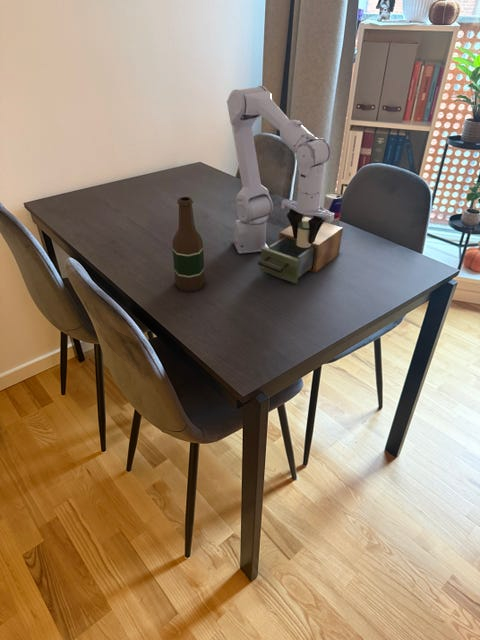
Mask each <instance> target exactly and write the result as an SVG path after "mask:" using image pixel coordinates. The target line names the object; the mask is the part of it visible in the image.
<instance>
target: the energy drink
mask: <svg viewBox="0 0 480 640" xmlns="http://www.w3.org/2000/svg"><path fill="white" fill-rule="evenodd" d="M323 203H324V204H323V208H324V209H326V210H328V211H330V212H332V213H335V214H334V220H333V221H332V222H330V223H329V222H327V220H325V221H324V222H325V223H329V224H332V225H336V226H339V225H340V219H341V212H342V204H343V195H342V194H341V193H339V192H328V193H326V194H325V197H324V202H323ZM339 227H340V226H339Z"/></svg>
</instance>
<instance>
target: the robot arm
mask: <svg viewBox="0 0 480 640" xmlns="http://www.w3.org/2000/svg"><path fill="white" fill-rule="evenodd" d="M226 104H227V110H228V116H229V122H230V125H231V130H232V136H233V141H234V142H233V143H234V147H235V153H236V159H237V165H238V170H239V175H240V182H241V187H242V188H241V190H239V192H238V193H237V195H236V196H235V199H236V208H235V211H236V215H237V217H238V219H236V220H234V222H233V244H234V247H235V249H236V251H237V253H238V254H249V253H251V254H252V253H261V248H263V247H266V248H269V246H268V244H267V243H266V239H267V238H266V237H267V220H268V219H269V217H270V215H271V214H272V213H273V210H274V203H273V200H272V198H271V196H270V192H269V191H270V190H269V189H268V188H266V187H265V186H264V185H262V183H261V176H260V170H259V164H258V163H259V162H258V156H257V151H256V144H255V138H254V133H253V126H254V124H255V122H256V121H257V120H258V119H259V118H260V117H262V118H264V120H266V121H267V122H268V123H269V124H270V125H272V126H273V127H274V128H275V129H276V130H278V131H279V138H280V140H281V141H282V142H283V143H284V144H285V145H286V146H287V147H288V148H289V149H290V150H291V151H292V152H293V153H294V154H295V160H296V163H297V171H298V184H297V186H298V187H297V193H296V198H297V199H296V200H292V199H287V198H286V199H284V200H281V206H280V207H281V209H283V210H286V209H287V210H289V211H288V213H286V217H287V219H288V221H289V223H290V226H291V227H292V231H293V236H294V238H295V239H296V238H297V230H298V227H297V224H298V223H299V222H301V221H302V218H304V215H306V216H309V217H311V218H312V219H310V220H309V221H308V223H309V243H310V244H312V243H313V242H314V241H315V238H316V236H317V233H318V231H319V229H320V227H321V226H322V224H323V223H324V221H325V220H327V222H329V223H330V222H332V221H333V220H334V214H335V213H332V212H330V211H328V210H326V209H324V207H323V206H320V201H321V194H322V193H321V192H322V184H323V176H324V168H325V167H324V166H325V163H327V162H328V161H329V160H330V157H331V147H330V145H329V143H328V141H327V140H326V139H325V138H322V137H320V138H318V137H317V136H315V135H314V134H312V133H311V132H310V131H309V130H308V129H307V128H306V127H304V126H303V123H302V121H300V120H297V119H289V118H288V117H287V115H286V114H285V113H284V112H283V110H282V109H281V108H280V107H279V106H278V105H277V104H276V103H275V101H274V100H273V97H272V93H271V92H270V91H269V90H268V88H267V87H265V86H263V85H258V86H255V87H247V88H242V89H233V90H231V92H230V94H229V95H228V98H227V100H226Z"/></svg>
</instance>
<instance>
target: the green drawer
mask: <svg viewBox="0 0 480 640" xmlns="http://www.w3.org/2000/svg"><path fill="white" fill-rule="evenodd" d="M296 241H297V240H294V239H291V238H288V237H285V236H284V237H283V238H281V239H280V240H279V239H278V240H277V241H275V242H274V243H272V244H270V245H269V246H268V248H266V247H263V248H261V252H260V259H259V260H258V261H257V263H258V264H257V265H259V266H260V271H261V272H264V273H266V274H269V275H272V276H274V277H277V278H280V279H282V280H285V281H288V282H290V283H293V284H297V283H298V281H299V278H300V277H302V276H303V275H304V274H305V273H306V272H309V269H310V268H312V267H313V266H314V258H315V250H316V247H315V246H312V245H311V246H310V247H308V248H302V247H299V246H297V245H296Z"/></svg>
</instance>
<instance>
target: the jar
mask: <svg viewBox="0 0 480 640" xmlns="http://www.w3.org/2000/svg"><path fill="white" fill-rule="evenodd" d="M297 227H298V230H297V241H296V245H297V246H299V247H302V248H308V247H310V246H311V244H310V243H309V223H308V221H301V222H299V223H298V224H297Z"/></svg>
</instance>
